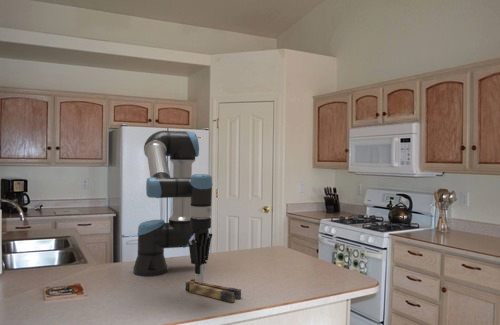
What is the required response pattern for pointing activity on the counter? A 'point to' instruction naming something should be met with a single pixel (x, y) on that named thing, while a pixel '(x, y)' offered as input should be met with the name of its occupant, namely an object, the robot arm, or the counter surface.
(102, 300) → the counter surface
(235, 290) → the base
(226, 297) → the tong arm
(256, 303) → the counter surface
